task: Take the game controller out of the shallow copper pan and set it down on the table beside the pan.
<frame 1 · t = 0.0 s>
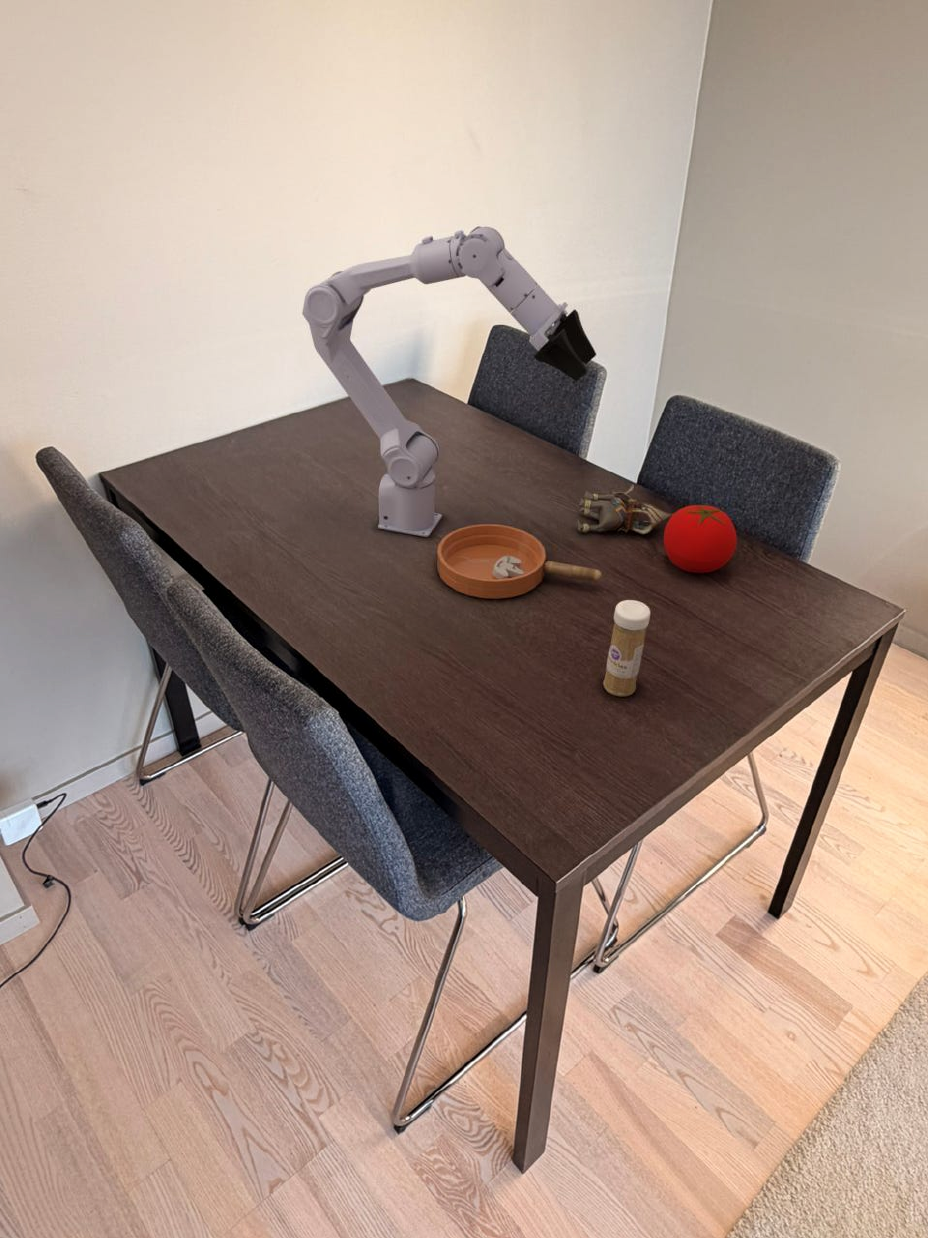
hand: (586, 367, 130), 32 cm above the table, tool tilted 50°, fingers open, 7 cm apart
sprinkles bottle: (619, 688, 121), on the table
game controller: (490, 569, 144), resting on pan
pan: (490, 569, 144), on the table
tomato: (693, 565, 147), on the table
figurine: (624, 527, 157), on the table
pan handle: (572, 571, 140), point 2 cm above the table
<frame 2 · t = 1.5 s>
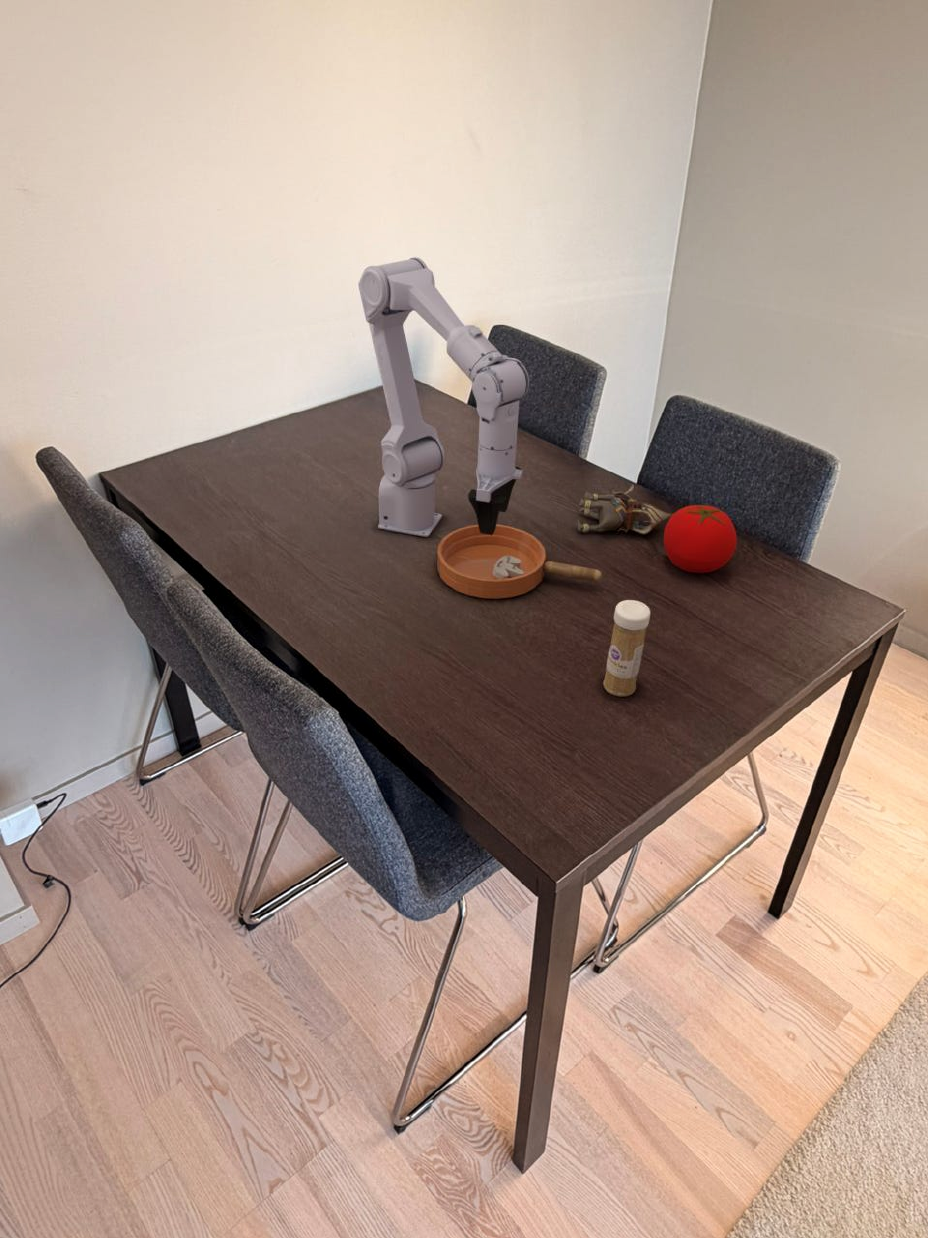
hand: (493, 521, 139), 9 cm above the table, tool pointing down, fingers open, 7 cm apart
nothing on the table moved.
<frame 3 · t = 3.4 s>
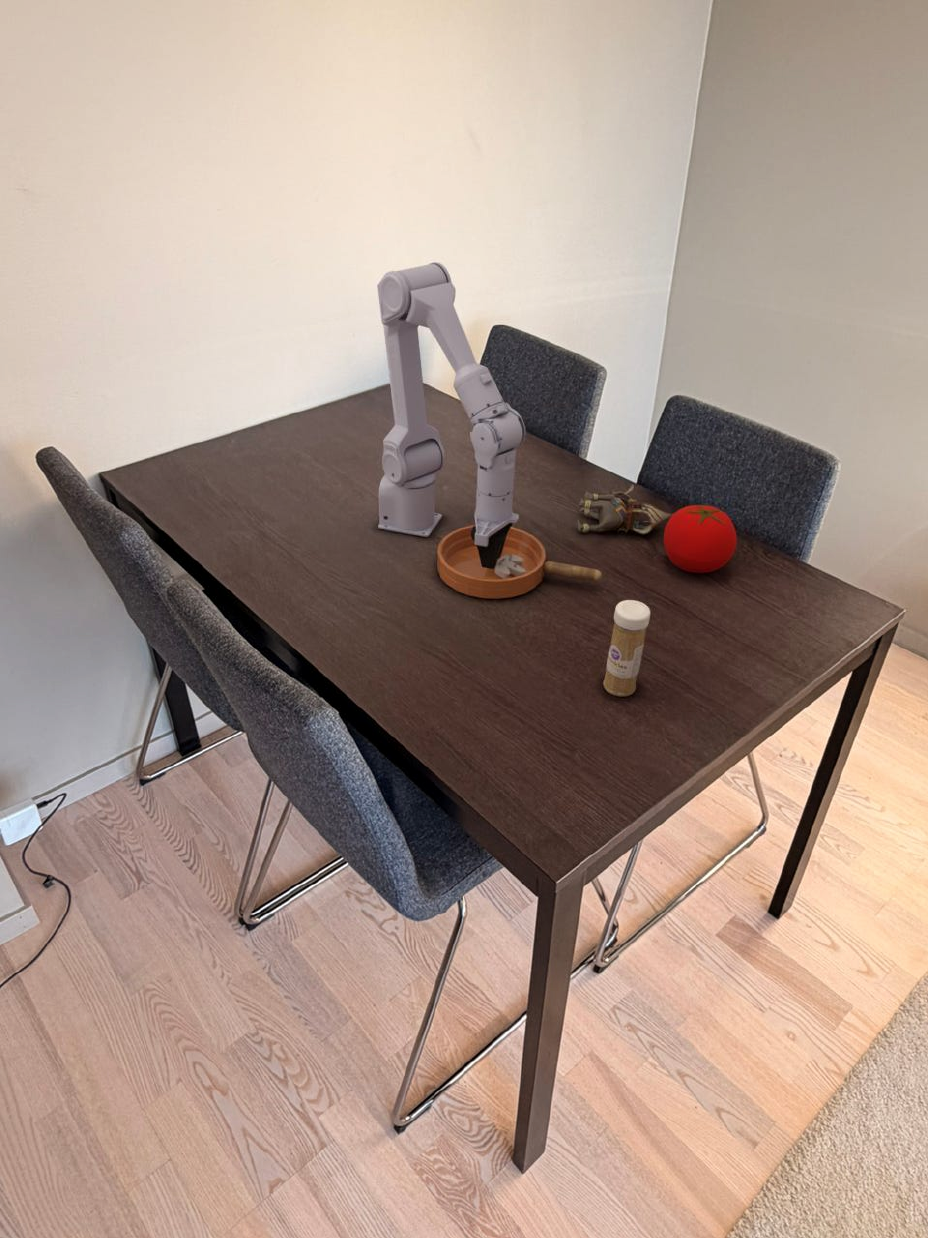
hand: (491, 562, 143), 2 cm above the table, tool pointing down, fingers closed on game controller, 3 cm apart
game controller: (492, 567, 145), resting on pan, touching gripper
everything else where it was.
when the fingers open (2 cm above the table, at t = 7.7 s): game controller stays where it is, on the table.
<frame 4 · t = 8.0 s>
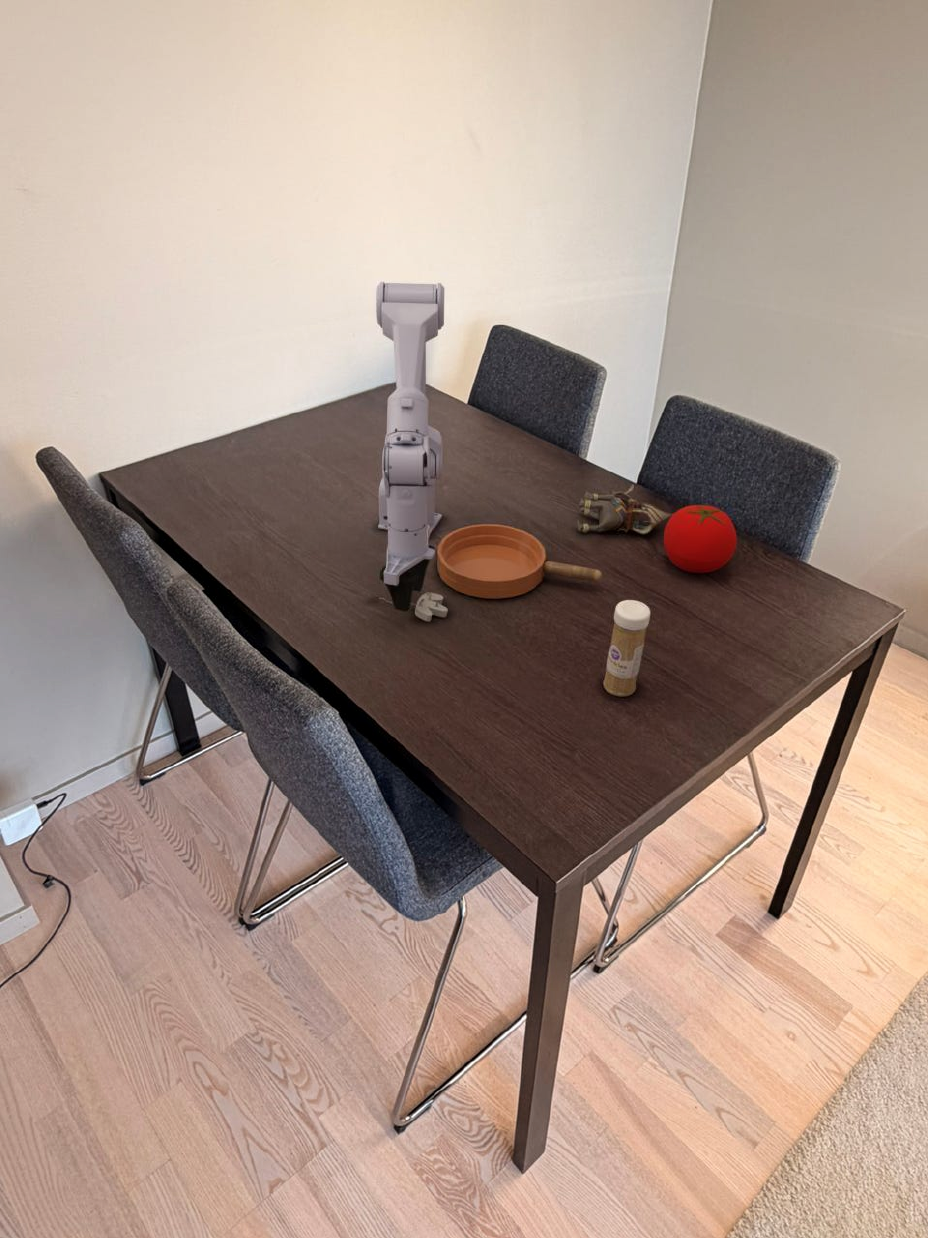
hand: (408, 599, 133), 2 cm above the table, tool pointing down, fingers open, 5 cm apart
game controller: (411, 608, 135), on the table
everything else where it was.
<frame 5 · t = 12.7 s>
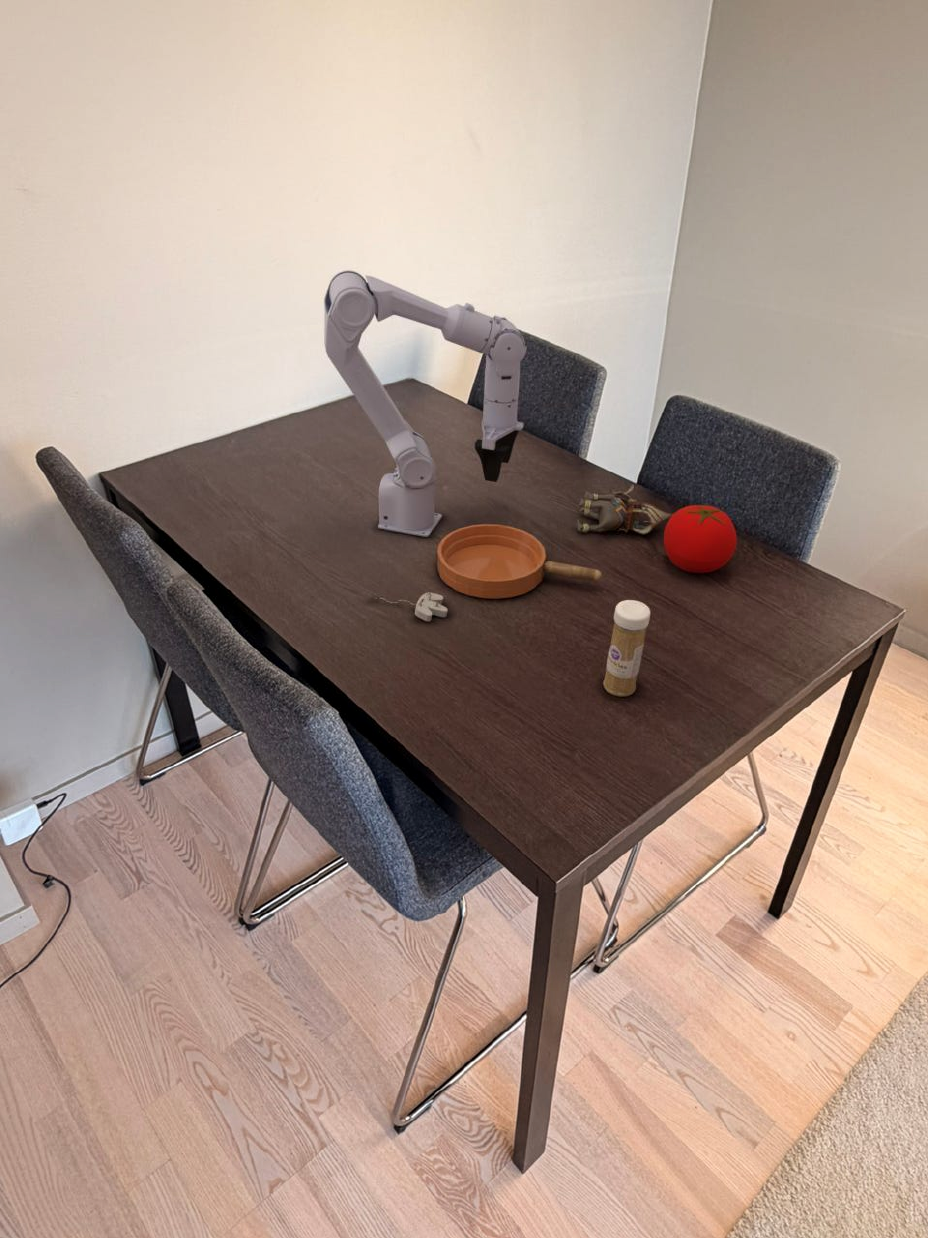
hand: (497, 470, 153), 9 cm above the table, tool pointing down, fingers open, 7 cm apart
nothing on the table moved.
at the end: game controller inside the target area (0.7 cm from its centre), on the table; game controller touching table; the gripper is holding nothing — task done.
